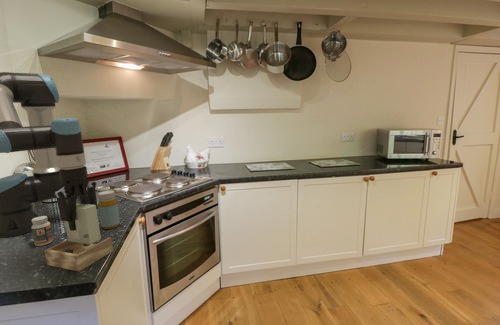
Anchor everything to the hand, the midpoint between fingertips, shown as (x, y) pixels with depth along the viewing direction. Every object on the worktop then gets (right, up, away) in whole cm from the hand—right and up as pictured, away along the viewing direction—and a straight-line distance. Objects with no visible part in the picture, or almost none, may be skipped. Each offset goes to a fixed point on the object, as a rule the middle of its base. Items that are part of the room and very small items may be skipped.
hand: (83, 235), depth 92 cm
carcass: (0, -7, -1) cm, 7 cm away
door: (0, -2, 0) cm, 2 cm away
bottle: (-4, -3, +25) cm, 25 cm away
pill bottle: (-22, -6, +12) cm, 26 cm away
